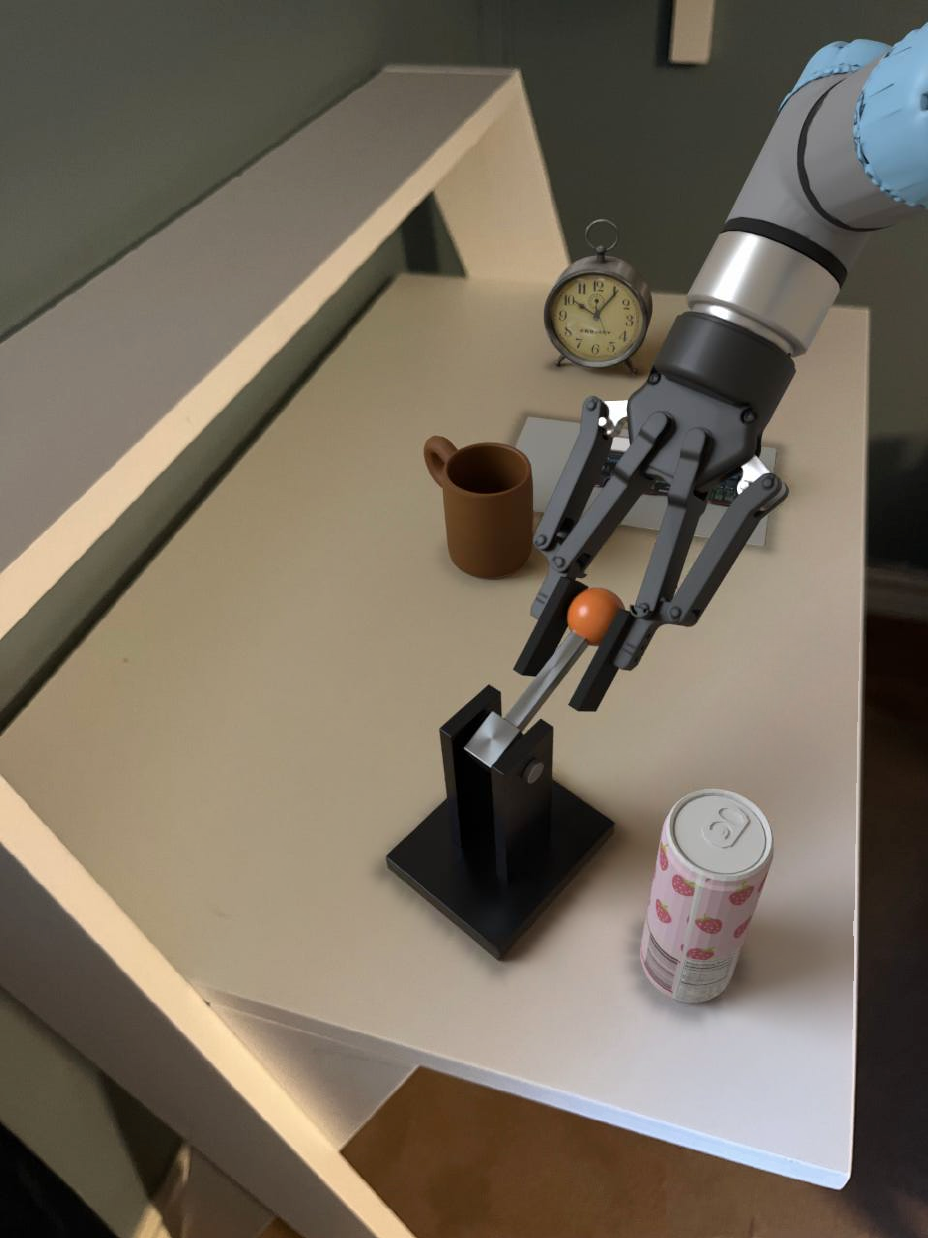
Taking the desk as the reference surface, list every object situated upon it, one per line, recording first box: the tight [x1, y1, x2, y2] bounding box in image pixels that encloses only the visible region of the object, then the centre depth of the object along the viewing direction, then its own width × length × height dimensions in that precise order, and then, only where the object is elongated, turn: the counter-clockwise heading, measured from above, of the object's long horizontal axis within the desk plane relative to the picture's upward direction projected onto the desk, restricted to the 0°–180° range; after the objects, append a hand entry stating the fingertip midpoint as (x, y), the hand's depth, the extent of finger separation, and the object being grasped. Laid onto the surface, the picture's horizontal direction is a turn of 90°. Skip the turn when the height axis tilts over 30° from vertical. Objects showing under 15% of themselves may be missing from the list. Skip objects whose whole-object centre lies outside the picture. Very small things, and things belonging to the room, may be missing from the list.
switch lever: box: [464, 586, 626, 773], centre depth 58 cm, size 13×4×4 cm, turn 138°
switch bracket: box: [385, 683, 616, 962], centre depth 60 cm, size 12×10×14 cm
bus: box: [514, 416, 777, 547], centre depth 91 cm, size 14×25×4 cm, turn 73°
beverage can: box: [639, 788, 775, 1004], centre depth 54 cm, size 6×6×15 cm
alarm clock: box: [543, 218, 654, 375], centre depth 100 cm, size 11×5×16 cm, turn 73°
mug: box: [423, 435, 534, 579], centre depth 84 cm, size 12×8×9 cm, turn 40°
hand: (554, 690), depth 59 cm, fingers closed on switch lever, 4 cm apart
